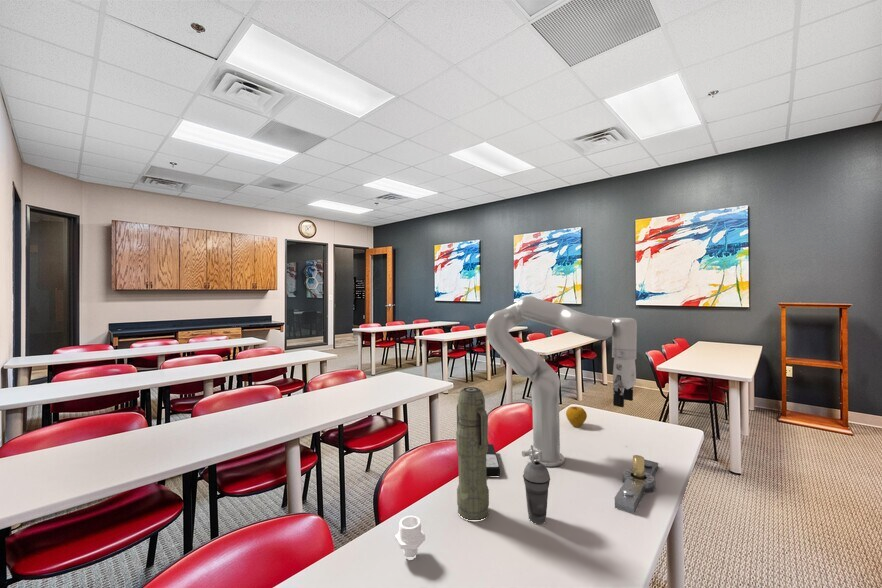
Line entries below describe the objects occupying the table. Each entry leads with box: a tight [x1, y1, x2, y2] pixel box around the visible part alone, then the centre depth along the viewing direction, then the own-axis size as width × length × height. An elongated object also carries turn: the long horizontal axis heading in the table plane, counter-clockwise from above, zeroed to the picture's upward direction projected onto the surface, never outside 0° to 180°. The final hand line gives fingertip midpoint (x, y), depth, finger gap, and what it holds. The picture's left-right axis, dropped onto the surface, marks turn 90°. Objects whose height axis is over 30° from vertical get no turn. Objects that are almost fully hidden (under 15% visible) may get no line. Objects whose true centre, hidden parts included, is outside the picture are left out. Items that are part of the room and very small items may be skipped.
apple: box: [565, 406, 588, 428], centre depth 168 cm, size 9×9×9 cm
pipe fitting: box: [394, 515, 426, 557], centre depth 87 cm, size 6×7×8 cm
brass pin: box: [632, 454, 645, 480], centre depth 116 cm, size 3×3×9 cm
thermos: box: [455, 386, 490, 520], centre depth 103 cm, size 9×12×35 cm
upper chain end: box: [614, 468, 656, 515], centre depth 111 cm, size 22×9×4 cm, turn 140°
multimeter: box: [486, 443, 501, 477], centre depth 132 cm, size 13×19×5 cm
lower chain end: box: [622, 458, 659, 494], centre depth 121 cm, size 22×9×2 cm, turn 140°
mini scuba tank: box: [522, 444, 551, 525], centre depth 100 cm, size 7×7×20 cm
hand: (623, 403), depth 126 cm, fingers open, 9 cm apart
